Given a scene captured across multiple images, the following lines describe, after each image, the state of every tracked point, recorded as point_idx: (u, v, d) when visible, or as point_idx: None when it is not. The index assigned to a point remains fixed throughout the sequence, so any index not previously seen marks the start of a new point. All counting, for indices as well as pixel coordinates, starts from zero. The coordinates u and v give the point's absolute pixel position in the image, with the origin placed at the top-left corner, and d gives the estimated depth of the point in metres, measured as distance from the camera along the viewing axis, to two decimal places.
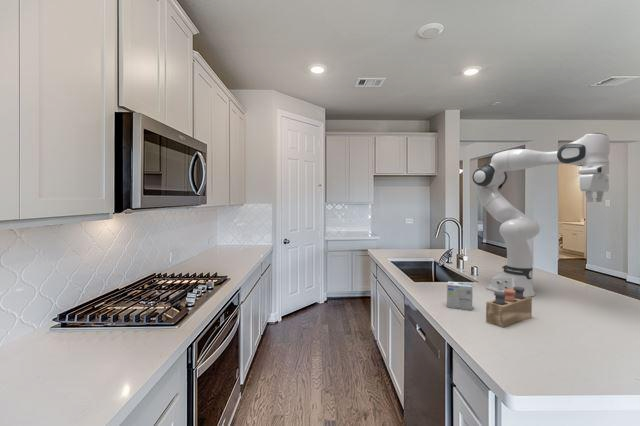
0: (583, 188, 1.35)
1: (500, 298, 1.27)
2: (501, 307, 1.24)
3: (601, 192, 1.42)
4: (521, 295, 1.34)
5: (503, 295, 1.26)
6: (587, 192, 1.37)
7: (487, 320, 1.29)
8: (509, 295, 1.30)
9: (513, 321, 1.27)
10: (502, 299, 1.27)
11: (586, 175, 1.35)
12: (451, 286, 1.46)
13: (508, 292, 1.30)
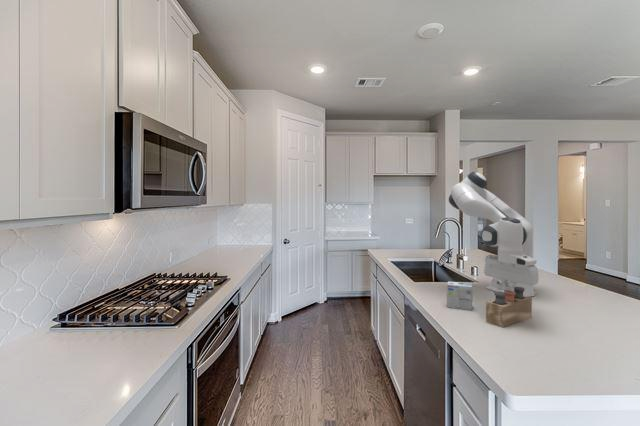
0: (535, 282, 1.23)
1: (500, 298, 1.27)
2: (501, 307, 1.24)
3: (507, 280, 1.33)
4: (521, 295, 1.34)
5: (503, 295, 1.26)
6: (515, 282, 1.29)
7: (487, 320, 1.29)
8: (509, 296, 1.30)
9: (513, 321, 1.27)
10: (502, 299, 1.27)
11: (533, 267, 1.24)
12: (451, 286, 1.46)
13: (508, 293, 1.30)
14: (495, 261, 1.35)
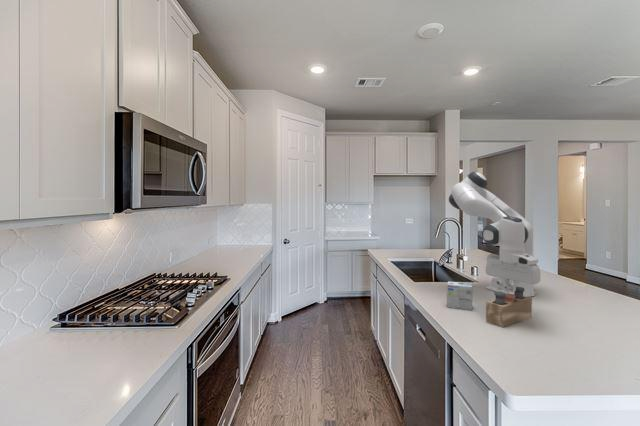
0: (537, 281, 1.22)
1: (500, 298, 1.27)
2: (501, 307, 1.24)
3: (509, 279, 1.33)
4: (521, 295, 1.34)
5: (503, 295, 1.26)
6: (517, 281, 1.29)
7: (487, 320, 1.29)
8: (509, 300, 1.30)
9: (513, 321, 1.27)
10: (502, 299, 1.27)
11: (535, 266, 1.23)
12: (451, 286, 1.46)
13: (508, 297, 1.30)
14: (497, 260, 1.34)
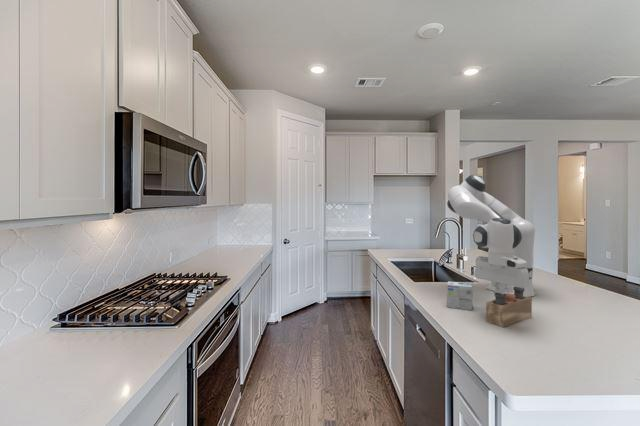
0: (525, 285, 1.19)
1: (500, 298, 1.27)
2: (501, 307, 1.24)
3: (498, 282, 1.29)
4: (521, 295, 1.34)
5: (503, 296, 1.26)
6: (505, 285, 1.26)
7: (487, 320, 1.29)
8: (509, 300, 1.30)
9: (513, 321, 1.27)
10: (502, 300, 1.27)
11: (524, 269, 1.20)
12: (451, 286, 1.46)
13: (508, 297, 1.30)
14: (485, 263, 1.31)
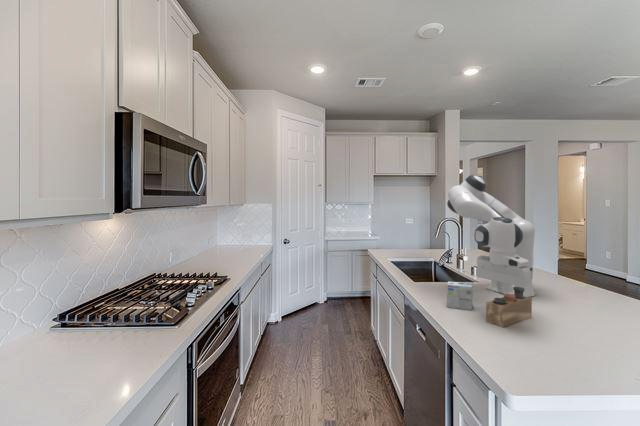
0: (528, 284, 1.19)
1: (500, 304, 1.27)
2: (501, 307, 1.24)
3: (499, 281, 1.29)
4: (521, 295, 1.34)
5: (503, 301, 1.26)
6: (507, 284, 1.25)
7: (487, 320, 1.29)
8: (509, 300, 1.30)
9: (513, 321, 1.27)
10: None
11: (526, 269, 1.20)
12: (451, 286, 1.46)
13: (508, 297, 1.30)
14: (487, 262, 1.31)
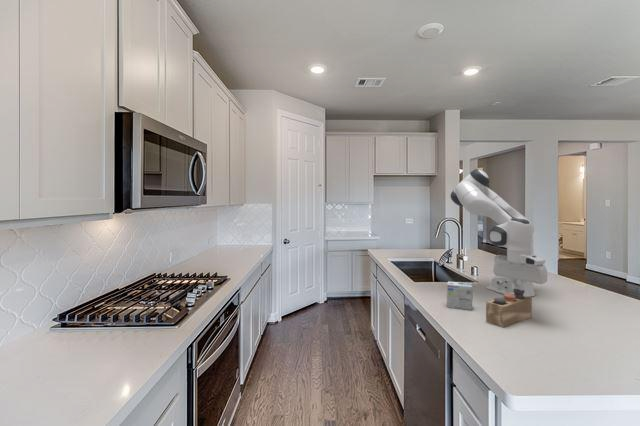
0: (544, 281, 1.26)
1: (500, 304, 1.27)
2: (501, 307, 1.24)
3: (516, 279, 1.37)
4: (521, 297, 1.34)
5: (503, 301, 1.26)
6: (524, 281, 1.33)
7: (487, 320, 1.29)
8: (509, 300, 1.30)
9: (513, 321, 1.27)
10: None
11: (542, 267, 1.27)
12: (451, 286, 1.46)
13: (508, 297, 1.30)
14: (504, 261, 1.38)
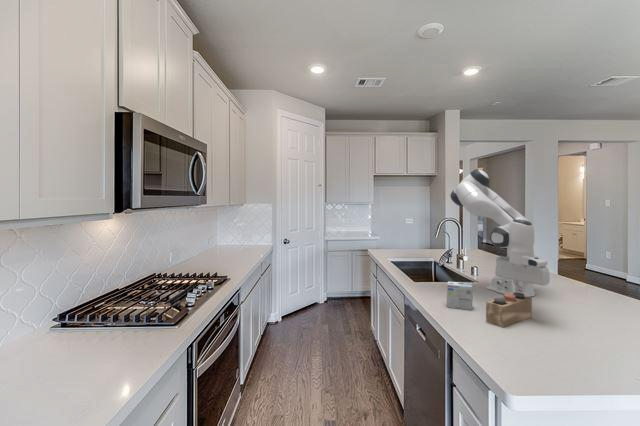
0: (546, 283, 1.26)
1: (500, 304, 1.27)
2: (501, 307, 1.24)
3: (518, 280, 1.36)
4: None
5: (503, 301, 1.26)
6: (526, 283, 1.33)
7: (487, 320, 1.29)
8: (509, 300, 1.30)
9: (513, 321, 1.27)
10: None
11: (544, 268, 1.27)
12: (451, 286, 1.46)
13: (508, 297, 1.30)
14: (506, 262, 1.38)
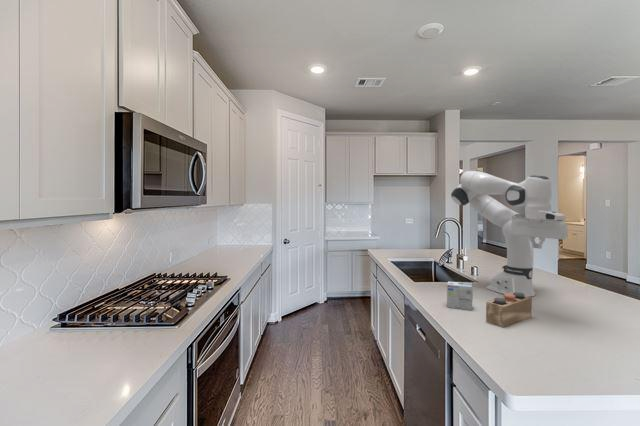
0: (564, 236, 1.24)
1: (500, 304, 1.27)
2: (501, 307, 1.24)
3: None
4: None
5: (503, 301, 1.26)
6: (543, 238, 1.31)
7: (487, 320, 1.29)
8: (509, 300, 1.30)
9: (513, 321, 1.27)
10: None
11: (562, 222, 1.25)
12: (451, 286, 1.46)
13: (508, 297, 1.30)
14: (522, 219, 1.36)
